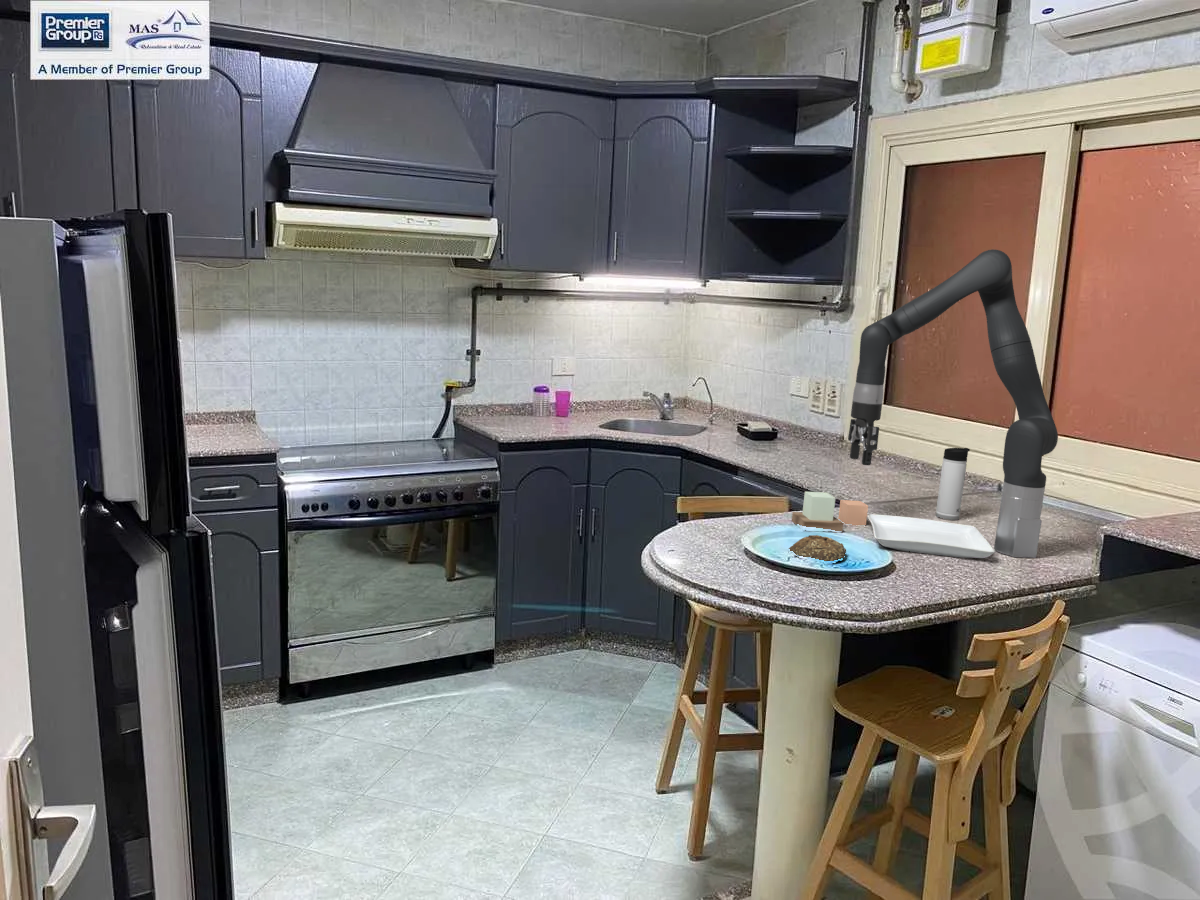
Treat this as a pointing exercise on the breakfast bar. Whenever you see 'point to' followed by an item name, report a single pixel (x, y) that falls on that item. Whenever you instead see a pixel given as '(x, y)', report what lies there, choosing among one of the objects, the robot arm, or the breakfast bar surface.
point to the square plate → (930, 536)
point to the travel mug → (951, 483)
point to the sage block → (818, 506)
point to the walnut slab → (816, 522)
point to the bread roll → (819, 548)
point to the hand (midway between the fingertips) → (859, 461)
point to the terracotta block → (853, 512)
